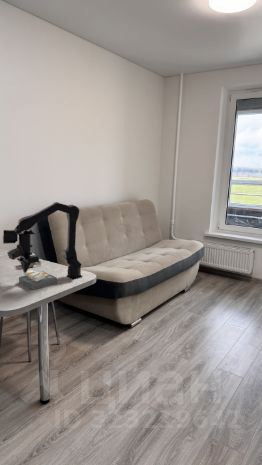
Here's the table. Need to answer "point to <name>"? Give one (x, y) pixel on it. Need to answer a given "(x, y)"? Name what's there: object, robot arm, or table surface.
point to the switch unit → (41, 283)
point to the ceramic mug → (35, 262)
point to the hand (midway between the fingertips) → (24, 272)
